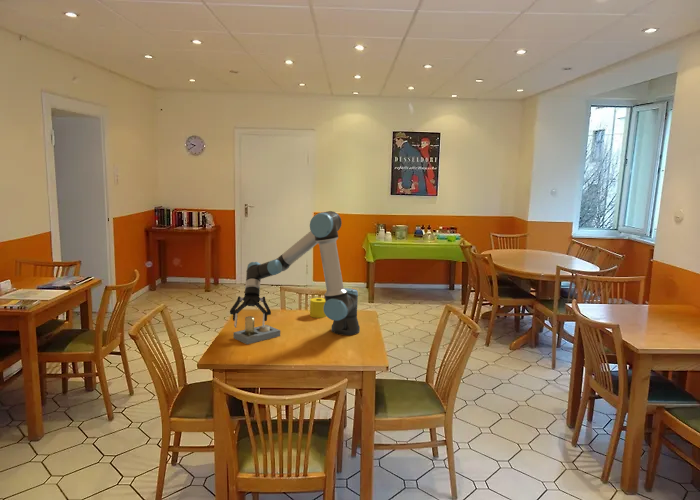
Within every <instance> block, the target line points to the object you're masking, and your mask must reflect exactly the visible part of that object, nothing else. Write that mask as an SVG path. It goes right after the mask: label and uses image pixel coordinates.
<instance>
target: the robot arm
mask: <svg viewBox="0 0 700 500" xmlns="http://www.w3.org/2000/svg"><path fill="white" fill-rule="evenodd" d="M309 222H310V223H309V231H308V232H307V233H306V234H305V235H304V236H303V237H301V238H300V239H299V240H297V241H296V242H295V243H294V244H293V245H291V246H290V247H289V248H288V249H286V250H285V251H284V252H283V253H282V254H281V255H279V256H278V257H277V258H276V259H275V258H274V259H272V260H269V261H267V262H263V263H260V262H258V261H251V262H249V263H248V264H247V267H246V276H245V278H246V279H245V287H244V296H243V297H242V296H237V300H236V301H235V303H234V304H233V306H232V307H231V309H230V310H229V313H230V315H232V321H233V322H234V325H233V326H234V328H237V324H238V314H239V313H241V311H242V310H243V309H244V308H247V306H248V307H257V308H258V309H259V310H260V312H261V313H262V325H261V326H263V328H264V325H265V323H266V322H267V320H268V316H269V315H272V312H271V309H270V307H269V305H268V303H267V301H266V297H265V296H262V297H260V295H261V294H260V293H261V290H260V289H261V282H262V281H261V280H262V279H266V278H269V277H272V276H277V275H278V274H281V273H282V272H285V271H286V270H288V269H289V268H290V267H291V266H292V265H293V264H294V263H296V261H298V260H299V259H301V258H302V257H303V256H304V255H305V254H307V253H308V252H309V251H310V250H312V249H313V248H314V247H315V246H316V245H318V246H319V252H320V258H321V264H322V269H323V276H324V281H325V289H326V291H325V293H324V298H325V301H326V302H325V304H324V313H325V315H326V316H327V318H328V319H329V320H331V321H333V322H332V324H331V328H330V330H331V332H332V333H333V334H336V335H341V336H352V335H357V334H359V333H360V329H361V328H360V325H359V319H358V298H359V293H358V290H357V289H356V288H351V287H350V288H348V287H344V283H343V276H342V270H341V264H340V257H339V252H338V251H339V250H338V246H337V240H338V239H339V232H338V231H339V230H340V229H341V228H342V224H343V223H342V217H341V216H340V215H339V214H338V213H337V212H336V211H331V210H329V211H323V212H318V213H317V214H315V215H314V216H312V218H311V220H310V221H309ZM241 302H242V303H241ZM260 302H261V303H262V304H263V306H264V307H263V306H262V305H261V304H260Z"/></svg>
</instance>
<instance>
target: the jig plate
mask: <svg viewBox="0 0 700 500" xmlns="http://www.w3.org/2000/svg"><path fill="white" fill-rule="evenodd" d="M266 325H267V326H270V325H269V324H266ZM260 326H261V325H260ZM260 326H254V335H251V336H246V335H245V329H242V330H237V331H234V332H233V334H232V335H233V339H234V340H236V341H239V342H241V343H243V344H245V345H250V344H255V343H259V342H263V341H267V340H270V339H273V338H278V337H281V330H280V329H278V328H276V327H274V326H270V331H267V332H261V331H259V327H260Z"/></svg>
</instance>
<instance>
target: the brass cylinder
mask: <svg viewBox="0 0 700 500" xmlns="http://www.w3.org/2000/svg"><path fill="white" fill-rule="evenodd" d="M254 328H255V316H253V315H252V316H251V315H250V316H245V317H244V330H245V335H246V336H251V335H254Z"/></svg>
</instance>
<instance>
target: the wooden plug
mask: <svg viewBox="0 0 700 500" xmlns="http://www.w3.org/2000/svg"><path fill="white" fill-rule="evenodd" d="M267 325H268V324H264V328H263V326H262V325H260V327H259V326H258V327H259V331H261V332H267V331H270V325H268V326H267Z"/></svg>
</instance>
